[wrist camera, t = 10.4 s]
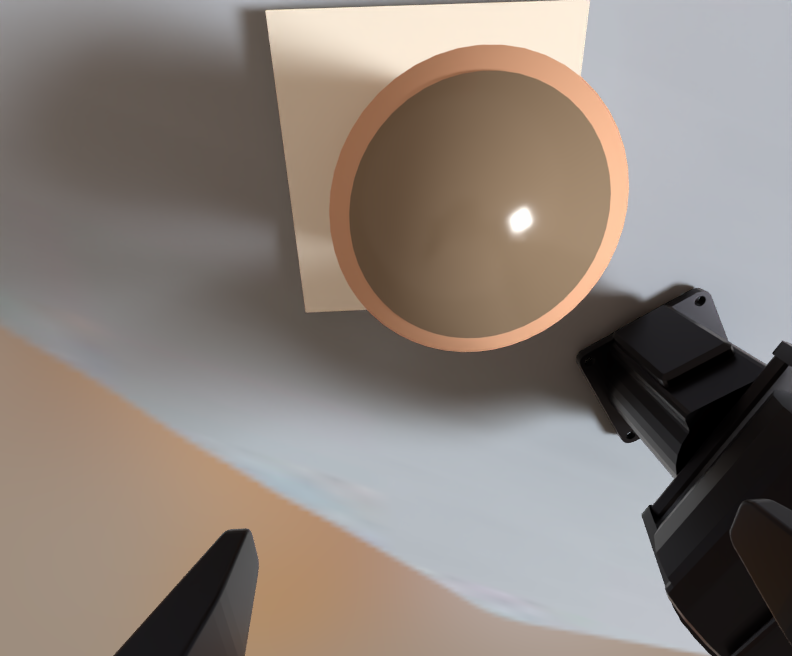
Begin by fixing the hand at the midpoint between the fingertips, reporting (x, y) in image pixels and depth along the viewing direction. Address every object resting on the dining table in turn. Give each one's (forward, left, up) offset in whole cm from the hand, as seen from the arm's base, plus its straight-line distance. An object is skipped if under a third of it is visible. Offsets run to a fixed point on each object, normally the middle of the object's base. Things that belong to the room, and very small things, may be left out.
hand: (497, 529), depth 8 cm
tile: (+4, -3, -13) cm, 14 cm away
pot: (+4, -3, -12) cm, 13 cm away
